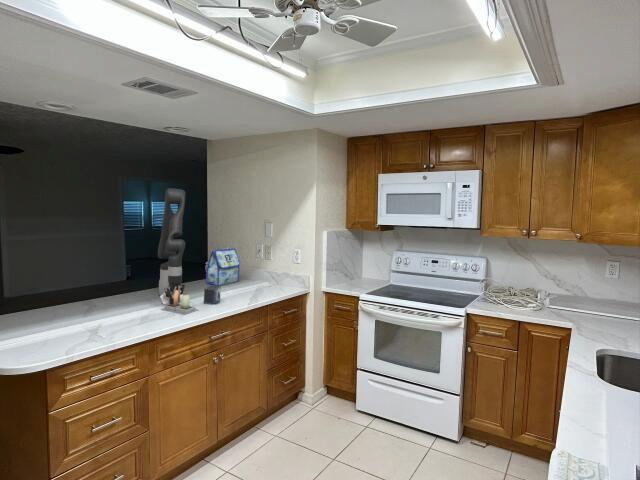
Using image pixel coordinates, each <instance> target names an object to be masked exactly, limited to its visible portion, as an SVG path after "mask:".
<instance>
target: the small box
mask: <svg viewBox="0 0 640 480" xmlns="http://www.w3.org/2000/svg"><path fill="white" fill-rule="evenodd" d="M203 292H204V293H203V305H210V306H213V305H218V304H220V303H221V285H219V286H216V285H214V284H211V285H210V286H207V287H205V288H204V290H203Z"/></svg>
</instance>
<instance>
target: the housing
mask: <svg viewBox="0 0 640 480" xmlns="http://www.w3.org/2000/svg"><path fill="white" fill-rule="evenodd" d="M160 311H165V312H169V313H174V314H178V315H182V316H187V315H189V314H192V313H194V312H195V313H196V312H198V311H199V309H197V308H196V306H191V305H189V309H187V310H185V309H182V303H178V306H171V304H170V303H167V304H166V305H165V304H164V308H162V309H160Z"/></svg>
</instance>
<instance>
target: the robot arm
mask: <svg viewBox="0 0 640 480" xmlns="http://www.w3.org/2000/svg"><path fill="white" fill-rule="evenodd" d="M185 204H186V191H185V190H184V189H180V188H167V189H166V190H165V195H164V210H163V217H162V223H161V230H160V231H161V232H160V239H159V244H158V248H157V257H158V258H159V259H161V260H168V261H165V262H164V263H161V264H160V268H159V271H160V273H159V276H160V277H159V280H158V295H159V296H161V295H163V294H164V293H165V294H166V297H169V303H168V304H174V298H173V297H174V294H175V291H176V290H179V294H178V304H180V302H181V301H180V295H182V294H183V295H184V291H185V286H186V285H185V284H184V283H182V282H183V268H182V267H183V266H182V265H183V262H182V261H183V254H184V251H185V249H186V242H185V240H183V239H181V238H180V239H179V237H181V236H182V235H183V218H184V213H185ZM171 205H177V206H178V209H177V210H176V212H175V213H174V211H173V209H172V207H171ZM175 238H178V239H175ZM177 252H178V253H177ZM172 292H173V293H172ZM171 294H172V296H171ZM179 301H180V302H179Z"/></svg>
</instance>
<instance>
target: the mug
mask: <svg viewBox="0 0 640 480" xmlns="http://www.w3.org/2000/svg"><path fill="white" fill-rule="evenodd" d="M182 295H184V293H183V294H182ZM182 295H180V301H179V303H181V302H182ZM159 297H160V300H161V302H162V304H163V305H165V304H166V305H167V304H170V303H169V297H166V294H165V293H164V294H163V295H159Z"/></svg>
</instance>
